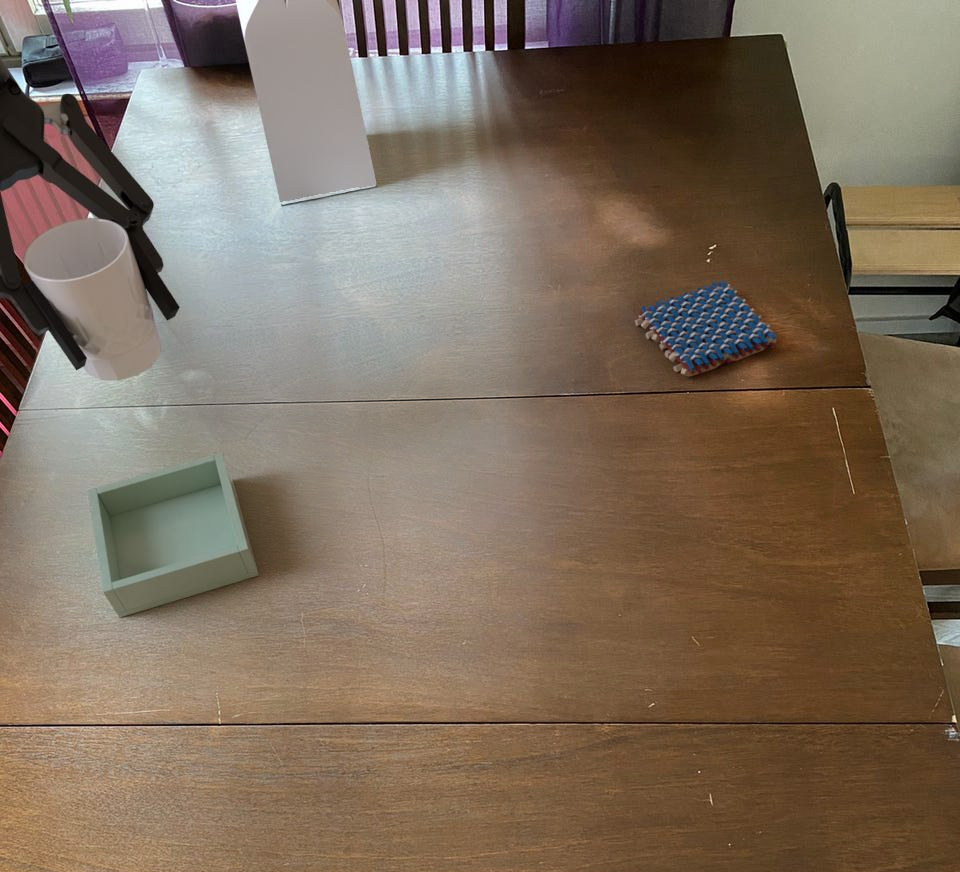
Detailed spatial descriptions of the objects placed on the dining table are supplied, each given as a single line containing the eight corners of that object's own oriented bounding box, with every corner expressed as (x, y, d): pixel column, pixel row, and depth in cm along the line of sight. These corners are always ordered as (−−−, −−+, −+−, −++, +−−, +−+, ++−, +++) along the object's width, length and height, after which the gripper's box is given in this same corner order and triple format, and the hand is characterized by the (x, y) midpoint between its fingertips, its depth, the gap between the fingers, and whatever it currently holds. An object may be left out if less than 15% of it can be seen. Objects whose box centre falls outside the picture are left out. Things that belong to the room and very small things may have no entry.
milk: (377, 187, 118) (335, -66, 97) (280, 206, 117) (217, -45, 96) (360, 135, 125) (318, -112, 103) (269, 152, 124) (208, -93, 102)
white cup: (80, 330, 86) (30, 224, 77) (172, 318, 86) (132, 211, 78) (70, 392, 81) (15, 287, 73) (167, 380, 81) (123, 273, 73)
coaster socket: (119, 618, 84) (102, 592, 81) (102, 517, 91) (87, 490, 88) (259, 575, 86) (248, 548, 83) (233, 479, 92) (222, 451, 89)
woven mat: (721, 290, 103) (724, 273, 101) (779, 351, 97) (783, 334, 95) (631, 321, 101) (632, 305, 99) (684, 385, 95) (686, 368, 94)
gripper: (62, 34, 80) (227, 293, 86) (-188, 138, 73) (10, 412, 79) (66, -21, 73) (245, 265, 79) (-208, 88, 66) (10, 392, 72)
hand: (128, 338), depth 79 cm, fingers closed on white cup, 8 cm apart
